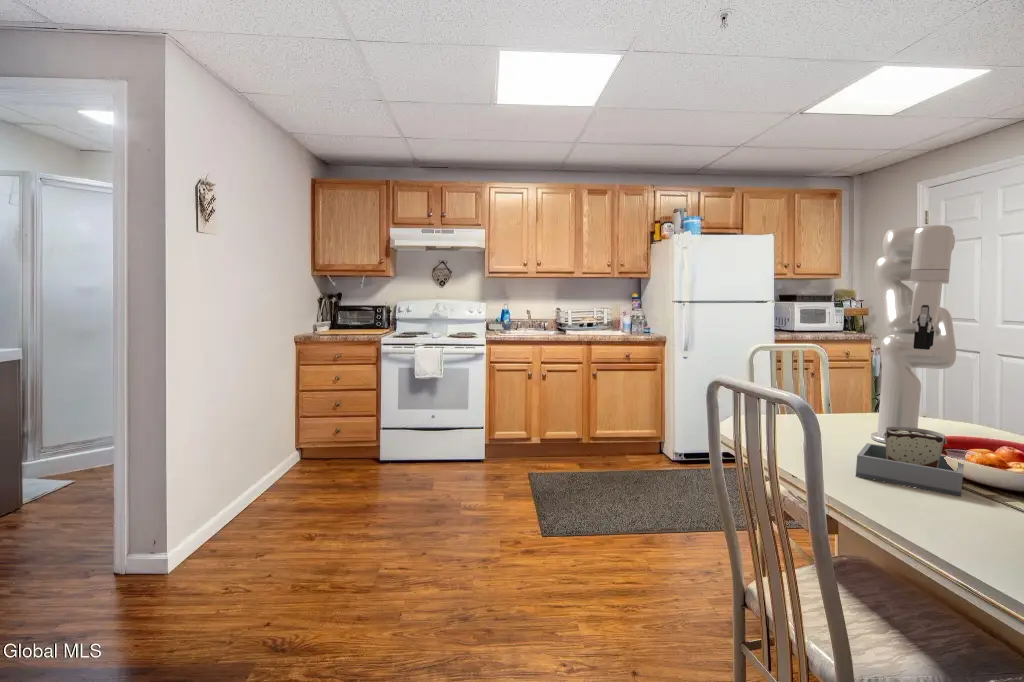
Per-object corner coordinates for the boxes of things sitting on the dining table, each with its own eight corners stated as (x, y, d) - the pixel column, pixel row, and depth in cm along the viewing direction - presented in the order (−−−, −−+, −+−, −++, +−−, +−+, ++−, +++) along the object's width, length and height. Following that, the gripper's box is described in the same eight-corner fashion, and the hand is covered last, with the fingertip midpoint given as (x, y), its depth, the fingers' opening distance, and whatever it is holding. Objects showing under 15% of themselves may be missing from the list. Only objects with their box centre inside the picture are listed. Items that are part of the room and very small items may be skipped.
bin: (865, 462, 139) (867, 443, 138) (962, 479, 127) (964, 458, 126) (855, 476, 127) (857, 455, 127) (960, 496, 115) (963, 473, 115)
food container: (933, 470, 130) (936, 429, 129) (943, 478, 124) (947, 435, 123) (872, 464, 134) (876, 423, 133) (880, 471, 128) (883, 429, 127)
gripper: (913, 278, 142) (908, 343, 144) (906, 276, 129) (900, 349, 131) (950, 278, 137) (944, 346, 139) (947, 276, 124) (940, 351, 126)
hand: (923, 347), depth 135 cm, fingers open, 9 cm apart
